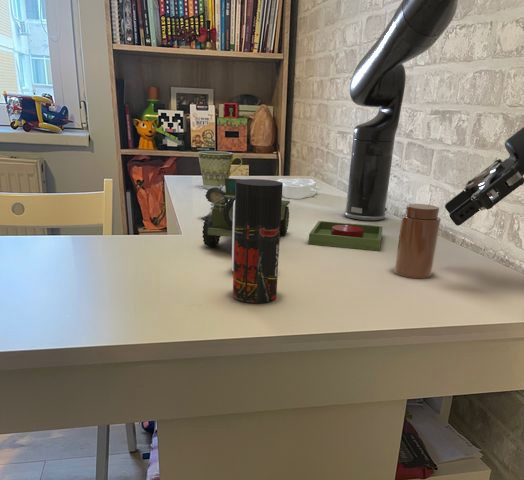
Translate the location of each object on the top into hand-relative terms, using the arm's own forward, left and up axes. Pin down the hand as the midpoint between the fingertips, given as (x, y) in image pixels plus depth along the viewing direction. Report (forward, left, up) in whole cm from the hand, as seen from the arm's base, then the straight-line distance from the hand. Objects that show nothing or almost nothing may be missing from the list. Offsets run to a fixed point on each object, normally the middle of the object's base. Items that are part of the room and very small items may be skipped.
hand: (450, 215), depth 85 cm
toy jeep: (-11, -35, -10) cm, 38 cm away
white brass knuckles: (-74, -37, -10) cm, 83 cm away
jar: (0, -4, -10) cm, 10 cm away
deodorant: (+20, -26, -10) cm, 34 cm away
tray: (-20, -17, -10) cm, 28 cm away
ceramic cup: (-73, -59, -10) cm, 94 cm away
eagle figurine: (-29, -45, -10) cm, 54 cm away
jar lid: (-20, -17, -8) cm, 27 cm away
